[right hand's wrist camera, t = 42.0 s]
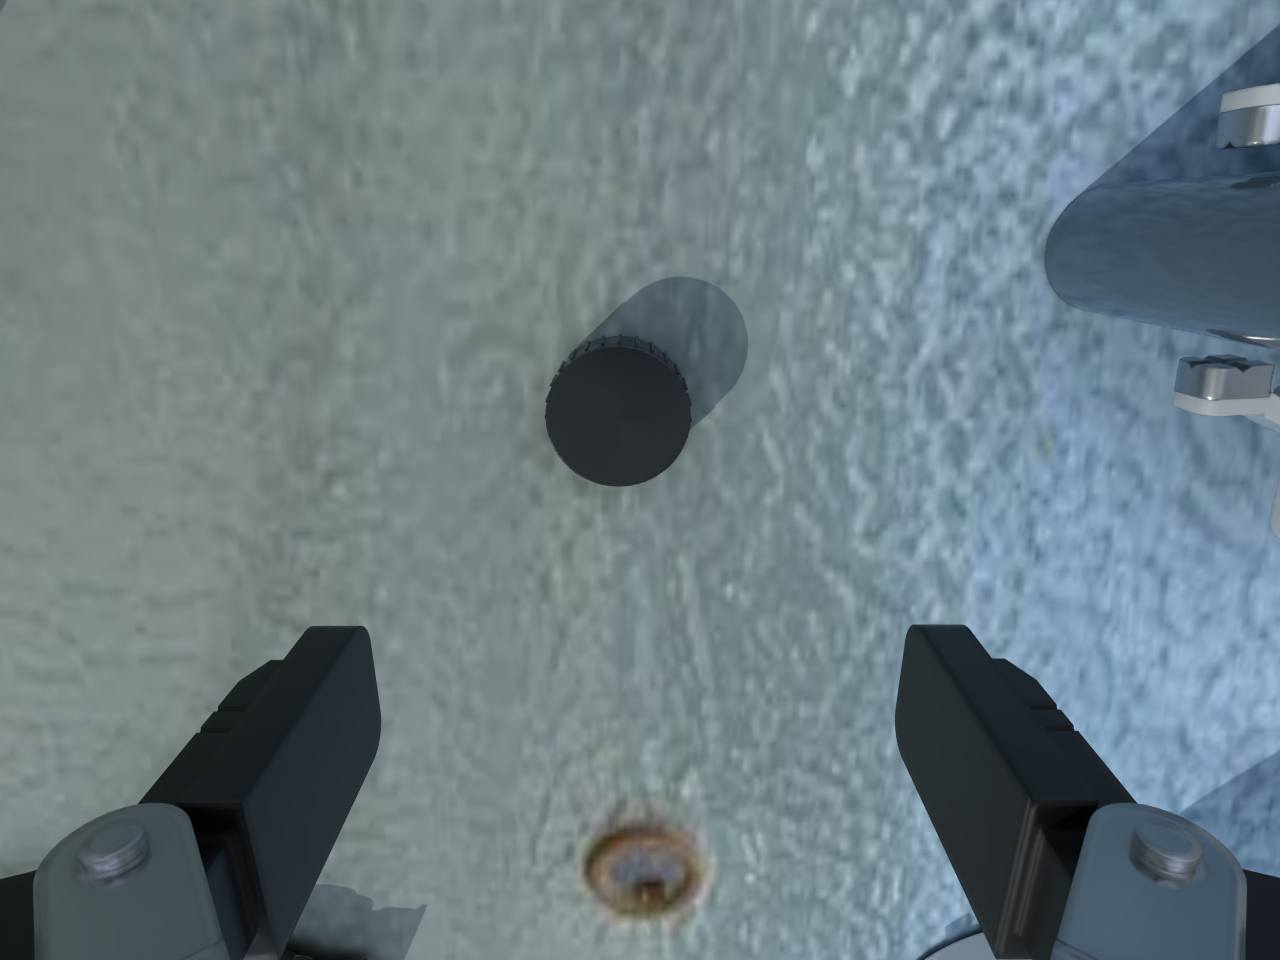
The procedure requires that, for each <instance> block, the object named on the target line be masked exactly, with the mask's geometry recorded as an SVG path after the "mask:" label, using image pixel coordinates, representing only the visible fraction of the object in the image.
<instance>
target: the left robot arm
mask: <svg viewBox="0 0 1280 960" xmlns="http://www.w3.org/2000/svg"><path fill="white" fill-rule="evenodd" d="M1276 145H1280V83H1276V84H1269V85H1263V86H1256V87H1250V88H1246V89H1241V90H1236V91H1232V92H1227V93H1223V95H1222V101H1221V107H1220V115H1219V122H1218V128H1217V135H1216V141H1215V148H1214V150H1224V149H1236V148H1252V147H1265V146H1276ZM1274 366H1275V365H1274V364H1270V363H1265V362H1261V361H1248V360H1247V359H1246V358H1244V357H1239V356H1235V355H1230V354H1228V355H1212V356H1208V357H1206V358H1205V359H1202V358H1198V357H1184V358H1181V359H1180V360H1179V366H1178V371H1177V377H1176V382H1175V388H1174V389H1175V391H1174V397H1173V402H1172V405H1173V406H1174V407H1177V408H1180V409H1183V410H1186V411H1189V412H1192V413H1195V414H1200V415H1207V416H1230V415H1243V416H1245V417H1246V418H1248V419H1250V420H1252V421H1254V422H1255V423H1257V424H1259V425H1261V426H1263V427H1264V428H1266V429H1269V430H1272V431H1275V432H1278V433H1280V386H1278V387H1277V388H1276V389H1274V393H1272V392H1270V389H1271V383H1272V377H1273V372H1274ZM1269 523H1270V528H1271V530H1272V532H1273V533H1274V534H1275V535H1276V536H1277V537H1278V538H1279V539H1280V474H1279V478H1278V483H1277V488H1276V492H1275V497H1274V501H1273V505H1272V509H1271V514H1270V521H1269ZM925 960H1032V959H995V957H994V955H993V952H992V950H991V948H990V946H989V944H988V942H987V940H986V937H985V935H984V933H983V932H982V933H979V934H976V935H973V936H970V937H967V938H964V939H962V940H960V941H957V942H955V943H953V944H951V945H948V946H946V947H944V948H943V949H941V950H939V951H937V952H935V953H934V954H932V955H931V956H929V957H928V958H926V959H925Z"/></svg>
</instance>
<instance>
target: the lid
mask: <svg viewBox="0 0 1280 960" xmlns="http://www.w3.org/2000/svg"><path fill="white" fill-rule="evenodd" d="M558 371H559V373H558V375H556V374H555V376H554V378H553V380H552V382H551V384H550V386H551V387H552V388H551V390H550V392H549V394H548V396H547V398H546V402H547V405H546V415H545V419H546V427H547V431H548V435H549V438H550V441H551V443H552V446H553V447H554V449H555V451H556V453H557V454H558V456H559V457H560V458H561V460H562V461H563V462H564V463H565V464H566V465H567V466H568V467H569V468H570V469H571V470H573V471H574V472H575V473H577V474H578V475H580V476H582V477H583V478H585V479H587V480H590V481H592V482H595V483H598V484H602V485H607V486H630V485H635V484H639V483H642V482H645V481H648V480H650V479H652V478H654V477H656V476H657V475H659V474H660V473H662V472H663V471H664V470H666V469H667V468H668V467H669V466H670V465H671V464H672V463H673V462H674V461H675V460H676V458H677V457H678V455H679V454H680V452H681V451H682V449H683V447H684V445H685V442H686V440H687V438H688V433H689V429H690V422H691V421H692V419H691V413H690V406H691V401H690V397H689V394H688V393H686V390H687V389H688V388H687V385H686V382H685V379H684V377H683V378H682V377H681V375H680V372H679V369H678V366H677V364H676V363H675V364H674V363H673V362H672V361H671V360H670V359H669V358H668V356H667V353H666V352H664V353H663V352H662V351H661V350H659V349H658V348H656V347H655V346H654V343H652V342H651V343H647V342H645V341H643V340H640V339H638V337H637V336H635V338H632V337H625V336H622V334H619V336H613V337H605V336H602V338H601V339H598V340H595V341H592V342H590V341H587V343H586V345H584V346H583V347H581V348H580V349H578V350H576V349H575V350H574V351H573V353H572V355H571V356H570V357H569V358H568V360H567V361H566V362H565V361H563V362H562V364H561V366H560V368H559V370H558Z"/></svg>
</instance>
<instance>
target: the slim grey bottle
mask: <svg viewBox="0 0 1280 960" xmlns="http://www.w3.org/2000/svg"><path fill="white" fill-rule="evenodd" d="M1045 266H1046V272H1047V276H1048V279H1049V282H1050V284H1051V286H1052V288H1053V289H1054V291H1055V292H1056V294H1057V295H1058V296H1059V297H1060V298H1061V299H1062V300H1063V301H1065V302H1066V303H1067V304H1069V305H1071V306H1073V307H1075V308H1077V309H1081V310H1084V311H1089V312H1094V313H1099V314H1104V315H1109V316H1113V317H1118V318H1123V319H1128V320H1133V321H1138V322H1142V323H1147V324H1152V325H1157V326H1162V327H1167V328H1172V329H1176V330H1181V331H1186V332H1191V333H1196V334H1201V335H1205V336H1210V337H1215V338H1220V339H1225V340H1230V341H1234V342H1239V343H1244V344H1249V345H1254V346H1259V347H1264V348H1268V349H1273V350H1278V351H1280V171H1278V172H1264V173H1249V174H1235V175H1221V176H1206V177H1192V178H1177V179H1163V180H1148V181H1134V182H1120V183H1110V184H1105V185H1102V186H1098V187H1096V188H1093V189H1091V190H1089V191H1087V192H1086V193H1084V194H1082V195H1081V196H1080V197H1078V198H1077V199H1075V200H1074V201H1073V202H1072V203H1071V204H1070V205H1069V206H1068V207H1067V208H1066V209H1065V210H1064V211H1063V212H1062V214H1061V215H1060V217H1059V218H1058V219H1057V221H1056V223H1055V225H1054V226H1053V228H1052V231H1051V233H1050V235H1049V239H1048V242H1047V246H1046V252H1045Z"/></svg>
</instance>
